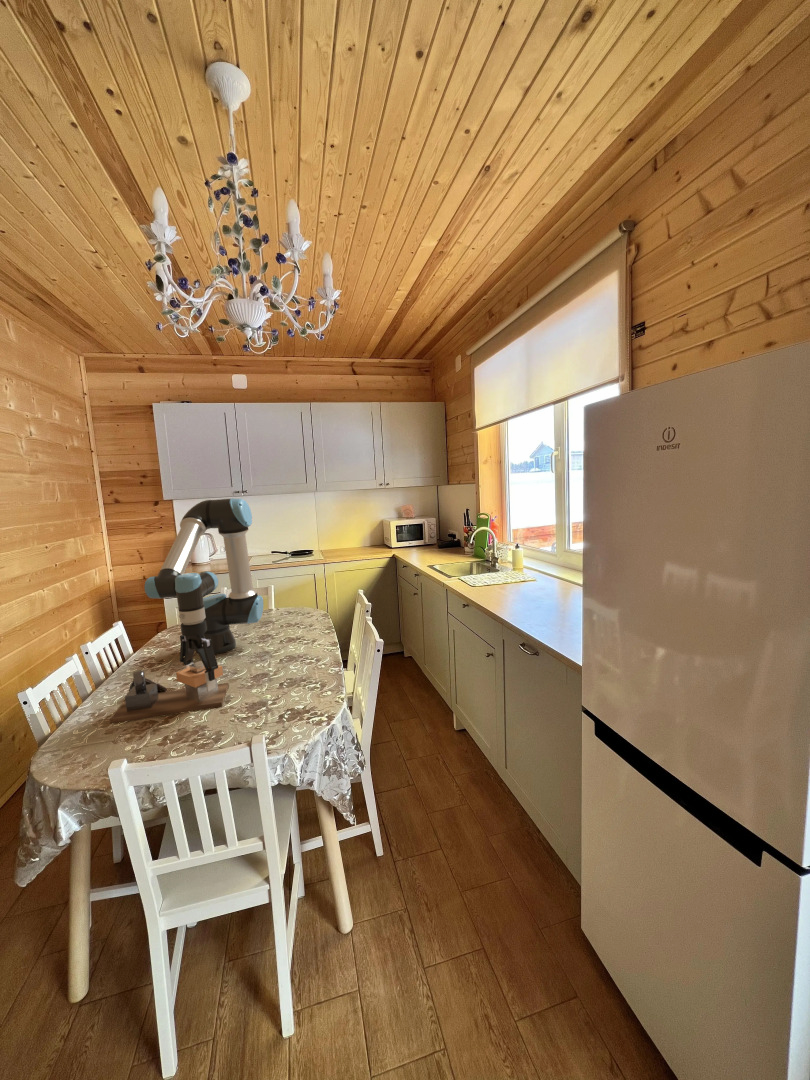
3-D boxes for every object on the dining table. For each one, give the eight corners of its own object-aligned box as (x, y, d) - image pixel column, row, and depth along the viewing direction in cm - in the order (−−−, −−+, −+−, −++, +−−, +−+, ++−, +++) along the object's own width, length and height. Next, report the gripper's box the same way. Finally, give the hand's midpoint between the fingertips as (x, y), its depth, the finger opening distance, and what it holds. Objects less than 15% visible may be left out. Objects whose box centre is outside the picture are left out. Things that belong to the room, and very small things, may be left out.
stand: (135, 700, 145) (130, 669, 143) (158, 697, 146) (153, 666, 145) (127, 711, 138) (121, 678, 136) (151, 707, 140) (146, 675, 138)
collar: (177, 681, 144) (176, 672, 143) (205, 669, 152) (203, 660, 151) (195, 687, 138) (194, 678, 138) (223, 674, 147) (222, 666, 146)
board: (128, 701, 148) (127, 697, 147) (229, 686, 154) (228, 682, 154) (110, 724, 134) (109, 719, 134) (221, 706, 141) (221, 702, 141)
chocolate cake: (176, 688, 157) (151, 665, 157) (168, 691, 150) (142, 668, 150) (156, 709, 155) (131, 687, 156) (147, 714, 148) (120, 690, 149)
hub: (186, 697, 145) (182, 666, 143) (205, 688, 151) (202, 658, 149) (199, 702, 141) (195, 670, 140) (218, 692, 147) (214, 661, 145)
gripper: (162, 620, 145) (171, 683, 148) (203, 629, 133) (212, 698, 136) (183, 613, 151) (192, 674, 155) (225, 622, 139) (233, 688, 143)
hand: (201, 685), depth 146 cm, fingers closed on collar, 10 cm apart
